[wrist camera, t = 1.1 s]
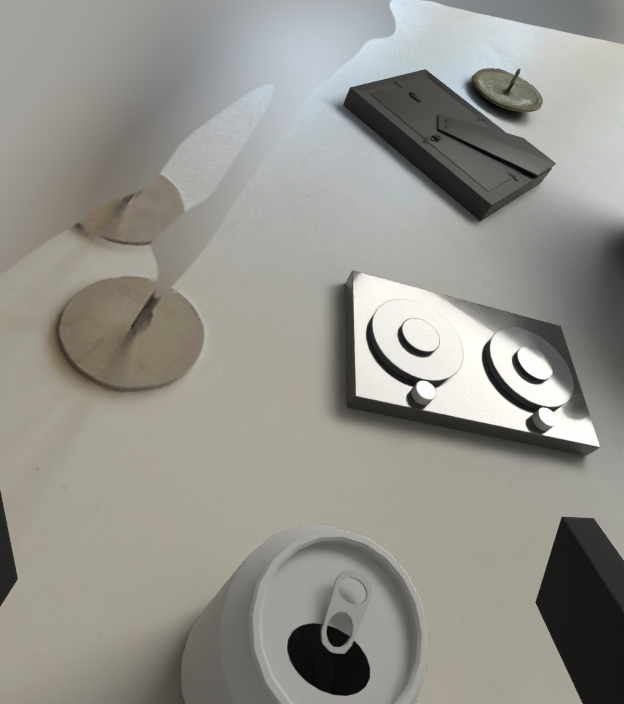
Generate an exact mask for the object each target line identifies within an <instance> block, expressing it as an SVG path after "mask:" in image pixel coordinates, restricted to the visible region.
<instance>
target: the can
mask: <svg viewBox="0 0 624 704" xmlns="http://www.w3.org/2000/svg"><path fill="white" fill-rule="evenodd" d="M427 661H428V629H427V624H426V619H425V615H424V610H423V606H422V602H421V600H420V597H419V595H418V593H417V591H416V589H415V587H414V585H413V583H412V581H411V579H410V577H409V575H408V574H407V572H406V571H405V570H404V569H403V568H402V567H401V565H400V564H399V563H398V562H397V561H396V559H395V558H394V557H393V556H392V555H391V554H390V552H388V551H387V550H385V549H384V548H382V547H381V546H379V545H378V544H377V543H375V542H374V541H372V540H371V539H369V538H368V537H366V536H363V535H359V534H356V533H353V532H350V531H347V530H344V529H340V528H337V527H334V526H331V525H299V526H297V527H294V528H291V529H289V530H286V531H283V532H281V533H278V534H275V535H273V536H271V537H270V538H269V539H268V540H266V541H265V542H264V543H263V544H262V545H260V546H259V547H258V548H257V549H256V550H254V551H253V552H252V553H251V554H250V555H248V557H247V558H246V559H245V560H244V561H243V563H242V564H241V565H240V566H239V568H238V569H237V570H236V571H235V572H234V574H233V575H232V576H231V577H230V579H229V580H228V581H227V582H226V583H225V585H224V586H223V587H222V588H221V590H220V591H219V592H218V593H217V594H216V596H215V597H214V598H213V599H212V601H211V602H210V603H209V604H208V606H207V607H206V608H205V609H204V611H203V612H202V614H201V615H200V617H199V618H198V620H197V622H196V623H195V625H194V626H193V628H192V629H191V631H190V633H189V636H188V640H187V643H186V646H185V650H184V653H183V657H182V661H181V691H182V695H183V698H184V702H185V704H415V703H416V700H417V697H418V694H419V690H420V687H421V684H422V681H423V677H424V674H425V671H426V668H427Z"/></svg>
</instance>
